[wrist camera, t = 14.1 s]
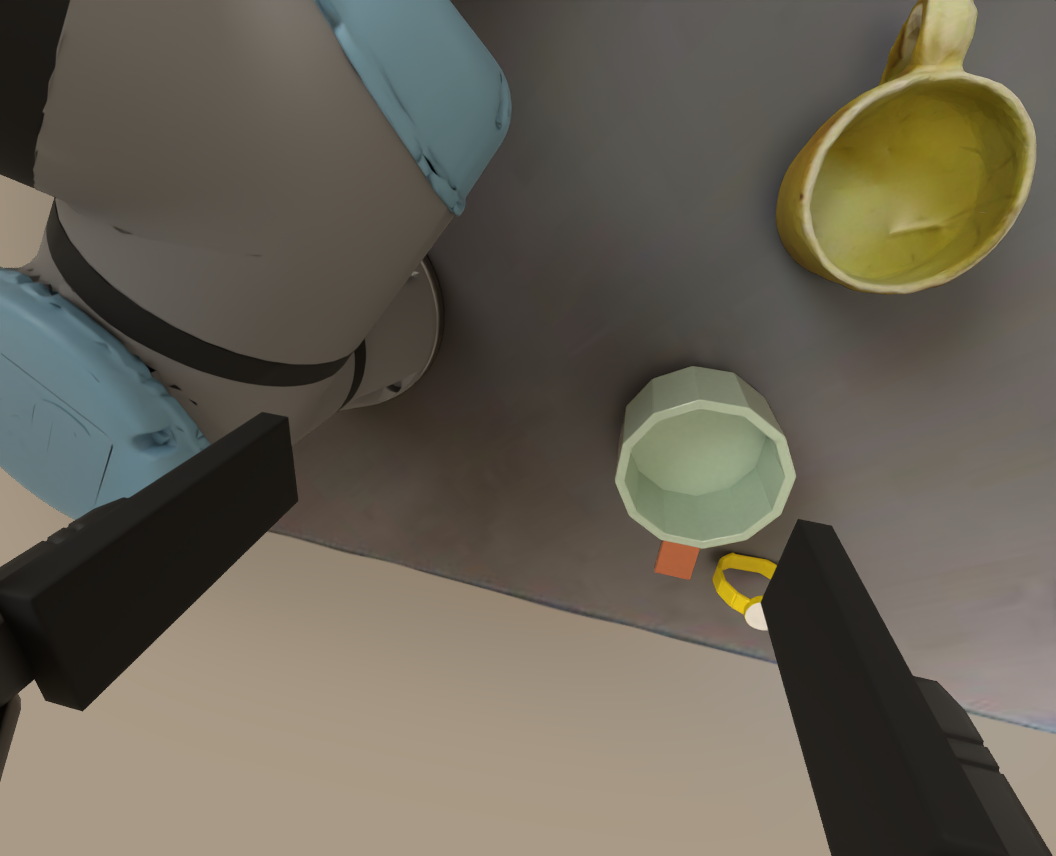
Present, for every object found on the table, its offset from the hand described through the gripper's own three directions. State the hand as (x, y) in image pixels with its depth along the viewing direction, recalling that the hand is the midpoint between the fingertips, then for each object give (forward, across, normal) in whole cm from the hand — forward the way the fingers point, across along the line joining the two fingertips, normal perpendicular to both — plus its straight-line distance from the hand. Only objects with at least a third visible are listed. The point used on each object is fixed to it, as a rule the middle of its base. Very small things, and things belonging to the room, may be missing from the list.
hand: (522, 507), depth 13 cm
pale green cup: (+23, +9, -10) cm, 27 cm away
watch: (+25, +16, -19) cm, 35 cm away
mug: (+25, +14, +10) cm, 30 cm away
